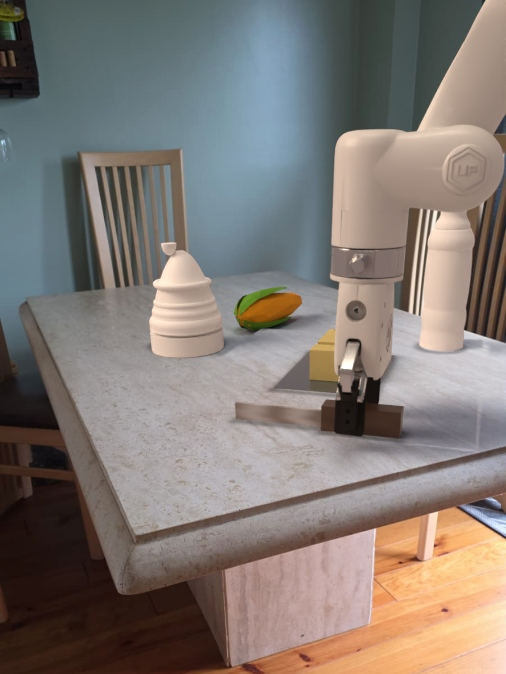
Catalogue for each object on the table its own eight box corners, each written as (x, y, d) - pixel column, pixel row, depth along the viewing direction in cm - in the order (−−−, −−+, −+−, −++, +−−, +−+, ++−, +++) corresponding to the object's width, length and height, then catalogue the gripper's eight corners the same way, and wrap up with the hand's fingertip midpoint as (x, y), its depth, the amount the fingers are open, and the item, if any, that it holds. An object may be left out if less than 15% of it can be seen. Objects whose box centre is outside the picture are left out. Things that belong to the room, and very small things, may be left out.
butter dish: (394, 361, 100) (395, 355, 99) (373, 403, 83) (374, 396, 82) (309, 355, 104) (310, 350, 104) (273, 394, 87) (273, 387, 87)
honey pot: (161, 361, 104) (150, 249, 96) (144, 344, 115) (133, 241, 107) (234, 351, 108) (229, 243, 100) (211, 335, 119) (205, 236, 111)
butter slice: (355, 376, 90) (356, 346, 88) (350, 383, 87) (352, 352, 85) (314, 373, 92) (315, 344, 90) (309, 379, 89) (309, 349, 87)
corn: (223, 292, 117) (285, 276, 131) (223, 331, 121) (284, 312, 135) (253, 298, 113) (314, 282, 127) (252, 339, 117) (312, 318, 131)
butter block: (366, 358, 98) (368, 330, 96) (357, 373, 91) (358, 343, 89) (329, 356, 100) (330, 328, 98) (317, 370, 93) (317, 341, 91)
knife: (401, 438, 72) (403, 405, 70) (398, 446, 70) (401, 413, 68) (239, 421, 78) (238, 391, 76) (232, 428, 76) (231, 397, 74)
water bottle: (439, 343, 109) (454, 188, 99) (471, 351, 103) (490, 188, 93) (409, 349, 106) (421, 190, 95) (441, 358, 100) (457, 191, 90)
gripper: (391, 279, 56) (378, 452, 63) (413, 254, 70) (400, 397, 77) (310, 275, 58) (306, 443, 65) (348, 252, 73) (341, 391, 80)
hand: (357, 418), depth 71 cm, fingers open, 9 cm apart
